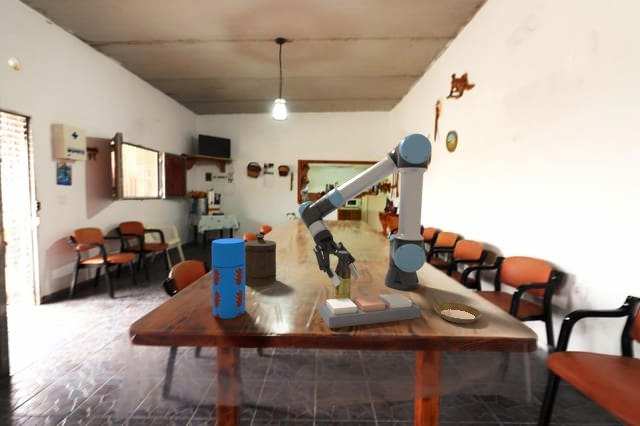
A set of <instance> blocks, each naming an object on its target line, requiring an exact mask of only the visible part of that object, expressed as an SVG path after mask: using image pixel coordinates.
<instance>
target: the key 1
mask: <svg viewBox="0 0 640 426" xmlns="http://www.w3.org/2000/svg"><path fill="white" fill-rule="evenodd" d="M351 300H352V299H351V298H350V299H349V298H341V299H334V298H333V299H331V298H330V299H326V301H325V303H326V307H327V308H328V309H329V311H330V312H331V313H332V315H335V314H345V313H355V312H357V306H356V305H355V304H354V303H353V302H352V301H351Z"/></svg>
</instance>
